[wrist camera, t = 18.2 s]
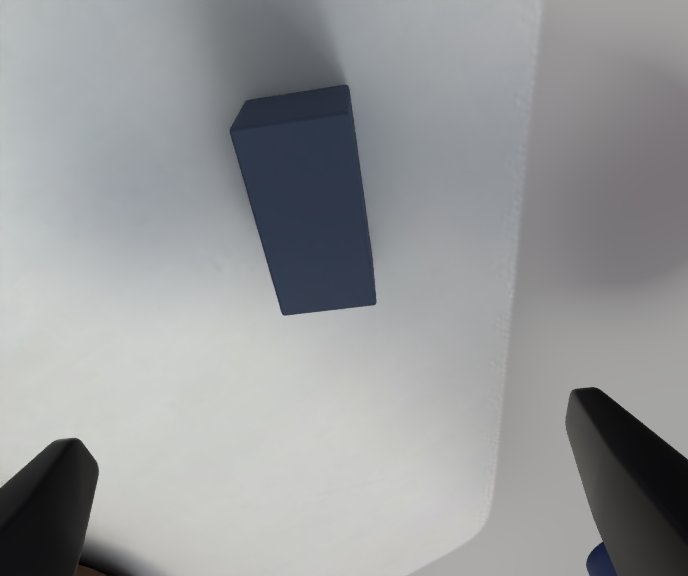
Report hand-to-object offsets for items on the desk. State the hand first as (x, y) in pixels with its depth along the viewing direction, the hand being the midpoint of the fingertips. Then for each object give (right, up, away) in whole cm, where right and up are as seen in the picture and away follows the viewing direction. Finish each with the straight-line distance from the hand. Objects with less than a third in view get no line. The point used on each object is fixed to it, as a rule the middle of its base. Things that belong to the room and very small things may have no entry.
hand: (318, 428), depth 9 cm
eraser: (0, +6, +7) cm, 9 cm away
